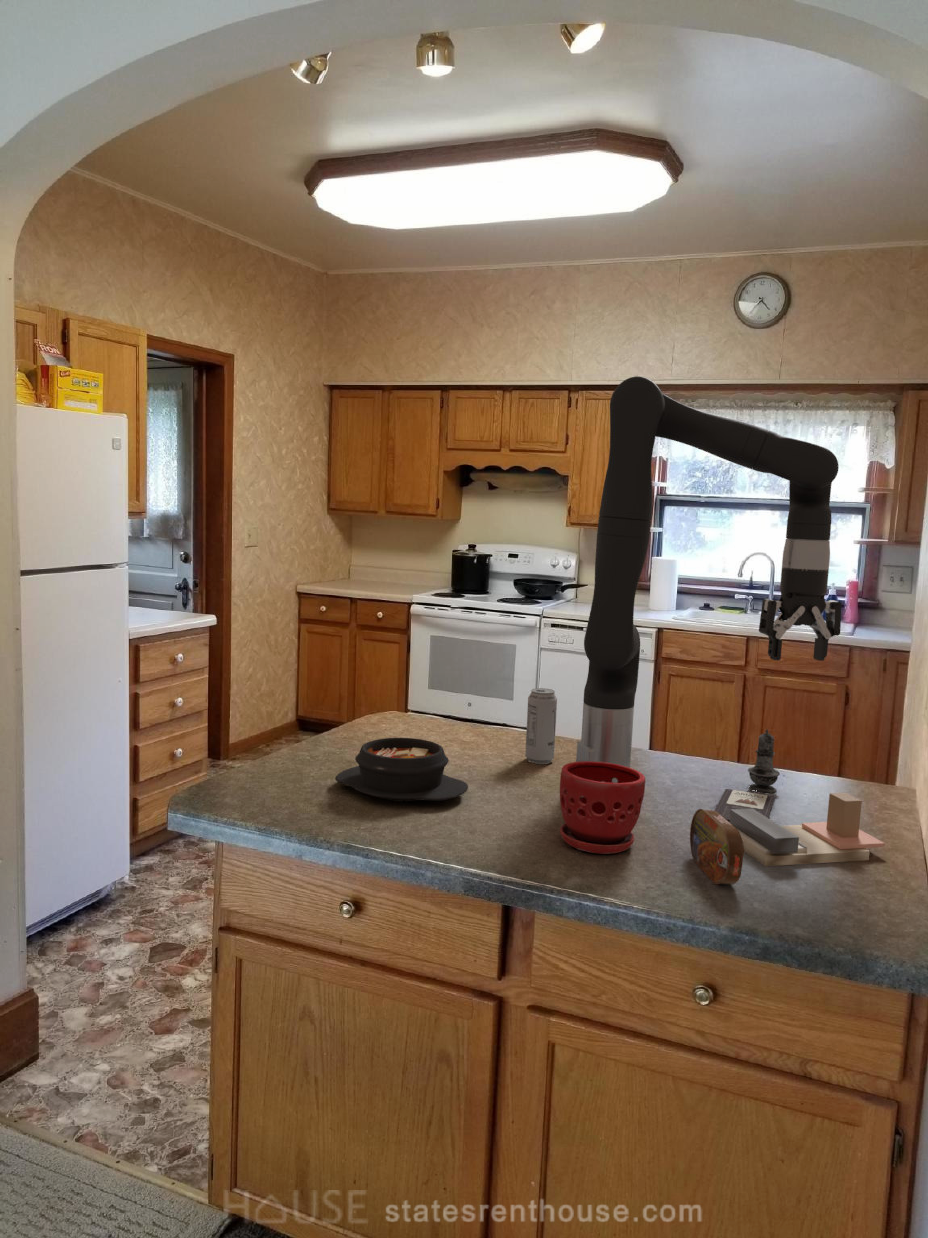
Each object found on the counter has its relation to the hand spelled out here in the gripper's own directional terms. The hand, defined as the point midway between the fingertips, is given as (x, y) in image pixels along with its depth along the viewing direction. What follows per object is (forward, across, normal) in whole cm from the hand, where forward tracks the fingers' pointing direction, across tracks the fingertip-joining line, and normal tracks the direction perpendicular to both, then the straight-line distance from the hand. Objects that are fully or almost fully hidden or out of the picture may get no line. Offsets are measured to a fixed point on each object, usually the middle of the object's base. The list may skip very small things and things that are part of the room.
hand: (797, 659), depth 154 cm
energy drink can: (+28, -33, +38) cm, 58 cm away
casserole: (+28, -65, +21) cm, 74 cm away
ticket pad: (+28, -7, -14) cm, 32 cm away
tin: (+28, -25, -21) cm, 43 cm away
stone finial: (+28, +5, +15) cm, 32 cm away
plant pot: (+28, -38, -8) cm, 48 cm away
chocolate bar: (+29, -5, +5) cm, 30 cm away
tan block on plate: (+26, +1, -14) cm, 30 cm away
